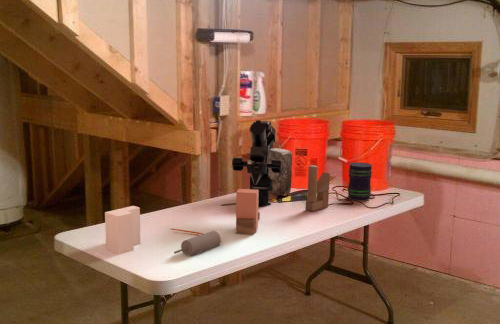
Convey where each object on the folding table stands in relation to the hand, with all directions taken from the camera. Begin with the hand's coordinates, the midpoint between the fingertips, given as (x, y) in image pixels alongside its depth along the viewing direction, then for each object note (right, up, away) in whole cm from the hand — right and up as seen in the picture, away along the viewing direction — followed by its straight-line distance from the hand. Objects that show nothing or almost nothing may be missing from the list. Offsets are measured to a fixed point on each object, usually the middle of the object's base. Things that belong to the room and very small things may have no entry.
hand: (255, 184), depth 201 cm
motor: (-25, -19, -27) cm, 41 cm away
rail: (-2, -15, -7) cm, 16 cm away
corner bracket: (-42, -19, -30) cm, 55 cm away
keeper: (-3, -15, -12) cm, 20 cm away
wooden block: (+25, -11, +18) cm, 33 cm away
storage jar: (+46, -8, +36) cm, 59 cm away
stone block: (+11, -6, +41) cm, 43 cm away
